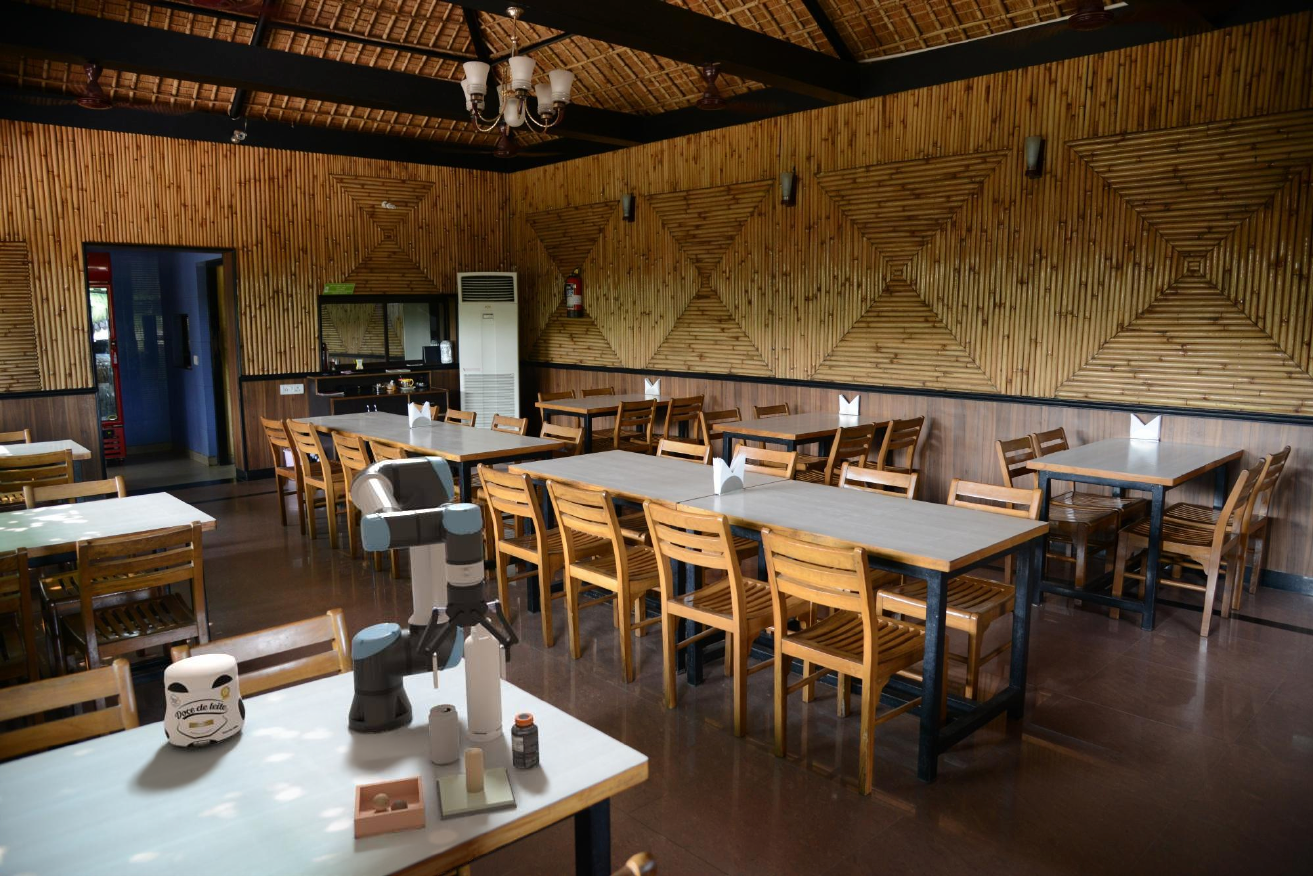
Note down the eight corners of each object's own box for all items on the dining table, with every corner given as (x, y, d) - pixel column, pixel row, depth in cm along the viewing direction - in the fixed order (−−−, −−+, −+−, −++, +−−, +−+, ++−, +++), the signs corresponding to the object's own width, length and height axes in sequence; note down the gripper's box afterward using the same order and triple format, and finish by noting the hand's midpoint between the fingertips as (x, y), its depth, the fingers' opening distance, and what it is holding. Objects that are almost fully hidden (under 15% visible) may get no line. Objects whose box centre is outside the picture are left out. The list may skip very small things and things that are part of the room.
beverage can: (452, 767, 196) (450, 716, 194) (425, 765, 197) (423, 714, 195) (464, 754, 202) (462, 704, 200) (438, 751, 203) (435, 702, 202)
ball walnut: (391, 812, 177) (390, 797, 176) (407, 810, 178) (407, 795, 177) (391, 821, 174) (390, 806, 173) (408, 818, 175) (407, 803, 174)
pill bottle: (538, 756, 200) (536, 708, 199) (540, 769, 194) (538, 720, 193) (511, 759, 199) (509, 711, 197) (513, 772, 193) (511, 723, 192)
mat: (436, 783, 189) (436, 780, 189) (506, 771, 193) (506, 769, 193) (440, 820, 175) (440, 817, 175) (516, 807, 179) (516, 804, 179)
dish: (357, 804, 181) (356, 786, 181) (422, 793, 185) (421, 775, 184) (355, 839, 169) (353, 819, 168) (425, 827, 173) (424, 807, 172)
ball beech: (373, 806, 179) (372, 792, 179) (389, 804, 180) (388, 789, 180) (373, 815, 176) (372, 800, 176) (389, 812, 177) (388, 797, 177)
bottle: (508, 735, 211) (503, 622, 207) (476, 744, 206) (471, 629, 203) (494, 723, 217) (489, 613, 214) (462, 732, 213) (457, 619, 209)
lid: (438, 781, 189) (436, 742, 188) (504, 770, 193) (503, 732, 192) (442, 815, 175) (440, 773, 174) (513, 803, 179) (511, 762, 178)
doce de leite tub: (192, 761, 201) (186, 685, 198) (150, 743, 210) (143, 670, 207) (261, 731, 215) (256, 660, 213) (219, 715, 224) (213, 647, 222)
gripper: (401, 592, 171) (407, 697, 174) (530, 580, 178) (533, 680, 181) (400, 582, 178) (406, 682, 181) (524, 570, 185) (527, 667, 188)
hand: (470, 681), depth 181 cm, fingers open, 13 cm apart
